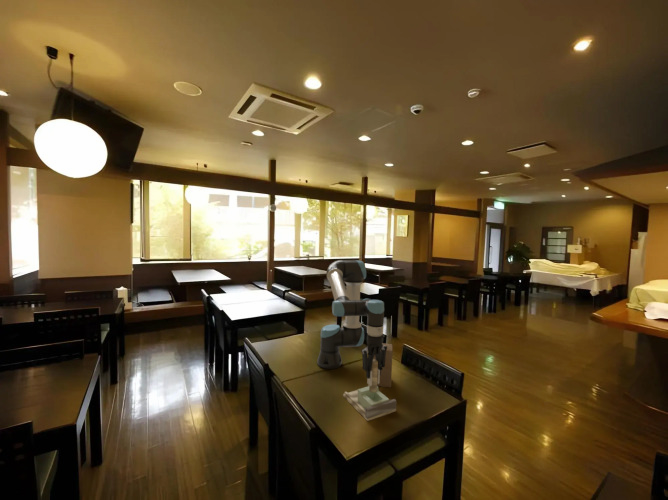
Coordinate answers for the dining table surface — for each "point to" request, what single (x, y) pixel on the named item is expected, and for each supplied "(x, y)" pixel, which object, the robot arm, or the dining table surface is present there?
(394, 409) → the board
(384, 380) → the wooden block
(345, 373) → the dining table surface
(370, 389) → the dowel
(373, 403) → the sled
